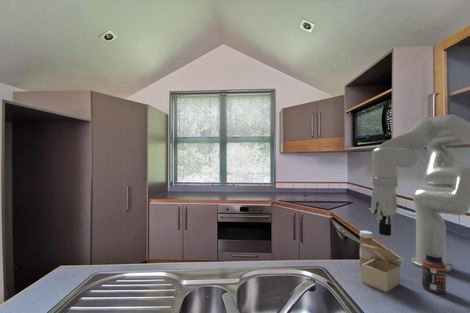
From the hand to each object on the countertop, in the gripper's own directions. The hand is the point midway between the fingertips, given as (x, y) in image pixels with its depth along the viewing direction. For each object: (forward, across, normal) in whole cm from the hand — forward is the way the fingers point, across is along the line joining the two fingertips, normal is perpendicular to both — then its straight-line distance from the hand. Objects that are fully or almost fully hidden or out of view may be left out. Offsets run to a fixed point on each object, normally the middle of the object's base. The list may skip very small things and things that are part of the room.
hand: (385, 234), depth 85 cm
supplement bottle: (+16, -6, +12) cm, 21 cm away
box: (+16, +4, 0) cm, 16 cm away
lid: (+7, +4, 0) cm, 8 cm away
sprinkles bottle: (+16, -7, -10) cm, 20 cm away
